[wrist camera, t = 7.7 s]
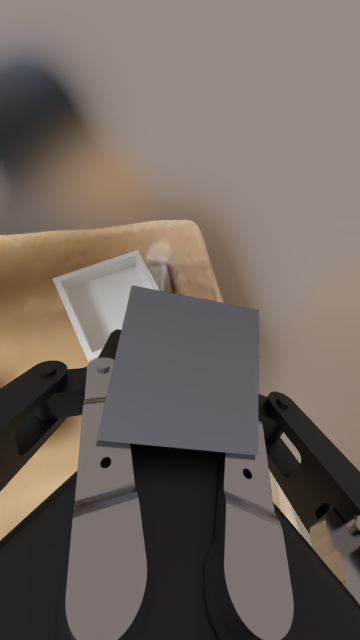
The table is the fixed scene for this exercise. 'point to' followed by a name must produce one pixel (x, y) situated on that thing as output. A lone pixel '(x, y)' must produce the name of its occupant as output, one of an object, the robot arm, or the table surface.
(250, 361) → the handle block
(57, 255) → the table surface
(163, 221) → the table surface
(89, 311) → the tray
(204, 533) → the robot arm
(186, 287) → the table surface
